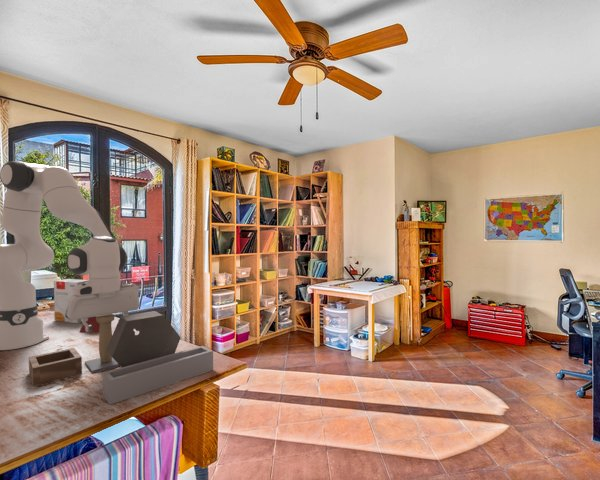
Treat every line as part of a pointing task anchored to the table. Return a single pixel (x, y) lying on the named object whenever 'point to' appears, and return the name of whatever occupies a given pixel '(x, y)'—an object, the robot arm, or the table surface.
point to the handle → (105, 336)
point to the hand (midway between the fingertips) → (105, 328)
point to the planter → (142, 338)
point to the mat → (100, 365)
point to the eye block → (54, 366)
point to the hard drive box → (64, 298)
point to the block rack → (155, 373)
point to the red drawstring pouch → (94, 324)
